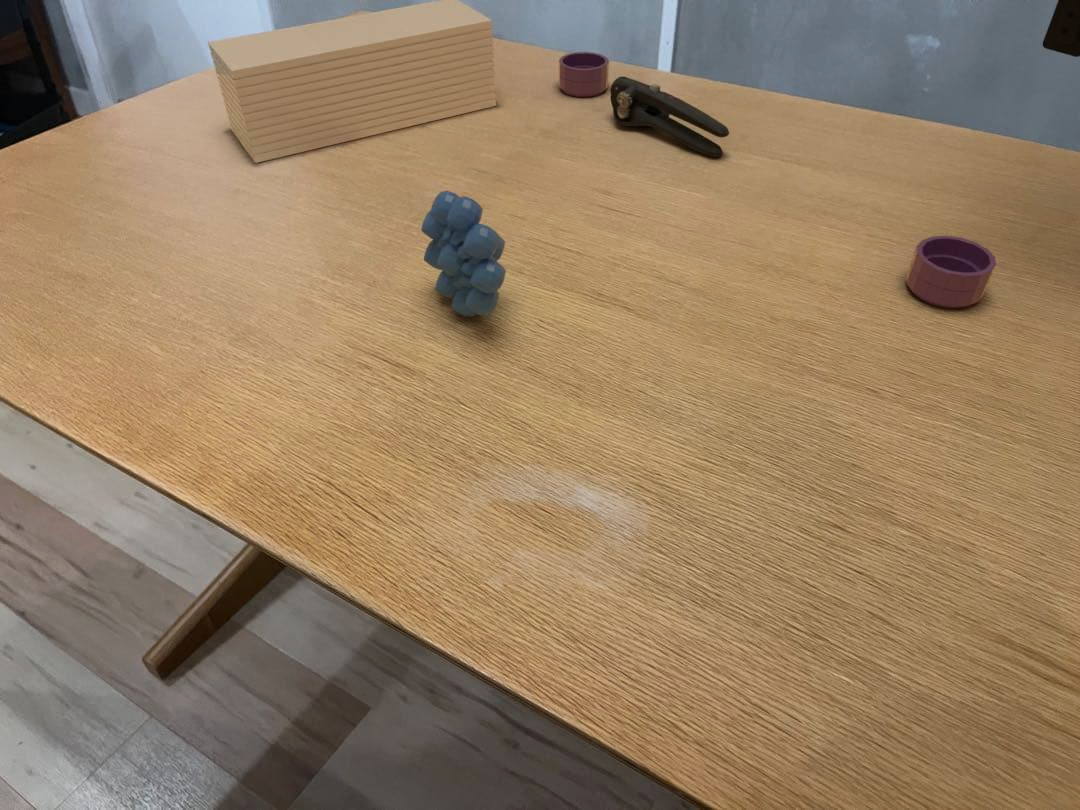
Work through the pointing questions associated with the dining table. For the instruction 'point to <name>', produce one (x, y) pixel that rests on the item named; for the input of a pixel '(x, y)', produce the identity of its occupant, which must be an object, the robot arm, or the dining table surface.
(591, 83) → the plum dish
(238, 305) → the dining table surface
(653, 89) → the can opener
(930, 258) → the plum dish
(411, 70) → the tan ribbed wooden block
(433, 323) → the dining table surface
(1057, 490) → the dining table surface
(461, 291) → the grapes
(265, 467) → the dining table surface
